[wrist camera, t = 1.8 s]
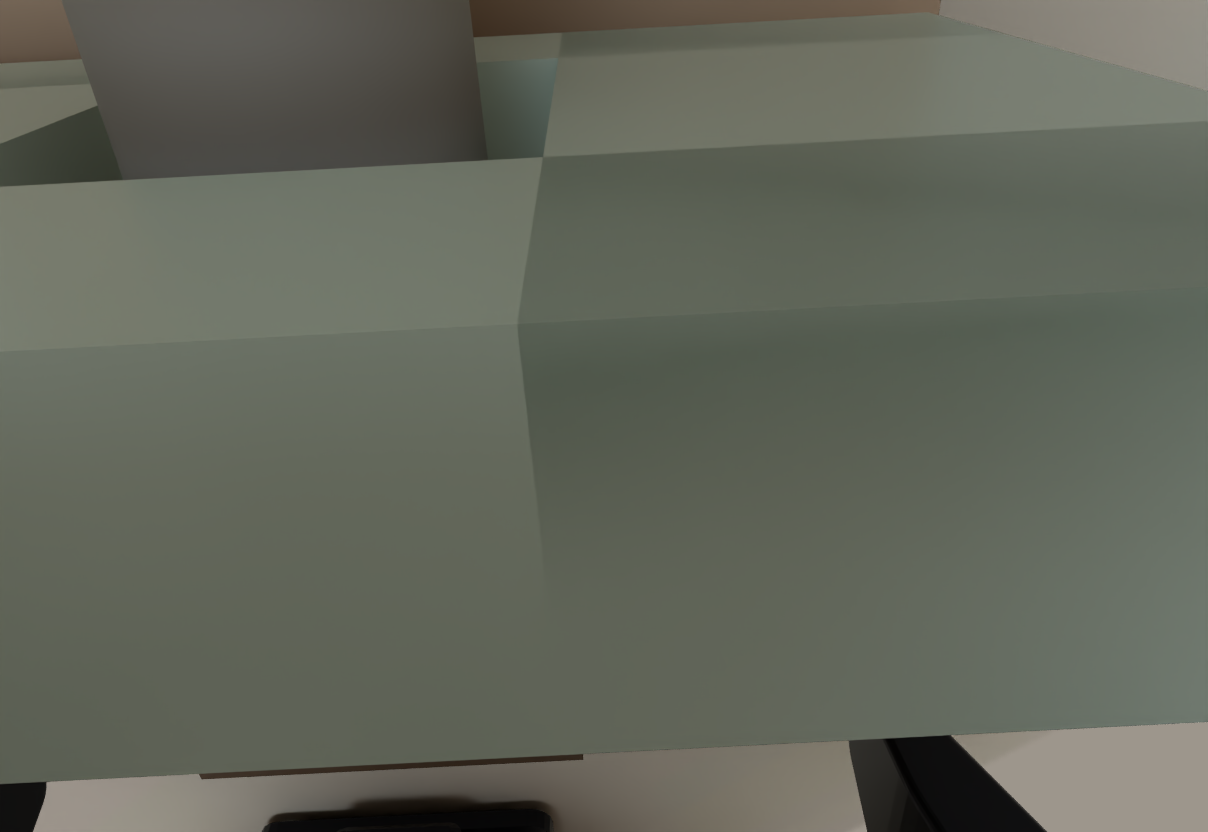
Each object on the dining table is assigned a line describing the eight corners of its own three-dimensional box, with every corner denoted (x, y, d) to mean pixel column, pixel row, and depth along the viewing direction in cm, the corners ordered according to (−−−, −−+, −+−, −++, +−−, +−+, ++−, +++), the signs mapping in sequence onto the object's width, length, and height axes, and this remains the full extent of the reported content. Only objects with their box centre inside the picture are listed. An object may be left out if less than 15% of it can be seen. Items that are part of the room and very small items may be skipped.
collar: (901, 202, 10) (1465, 707, 4) (-41, 254, 10) (-1123, 842, 4) (927, 12, 9) (1789, 254, 2) (-127, 70, 9) (-1848, 452, 3)
